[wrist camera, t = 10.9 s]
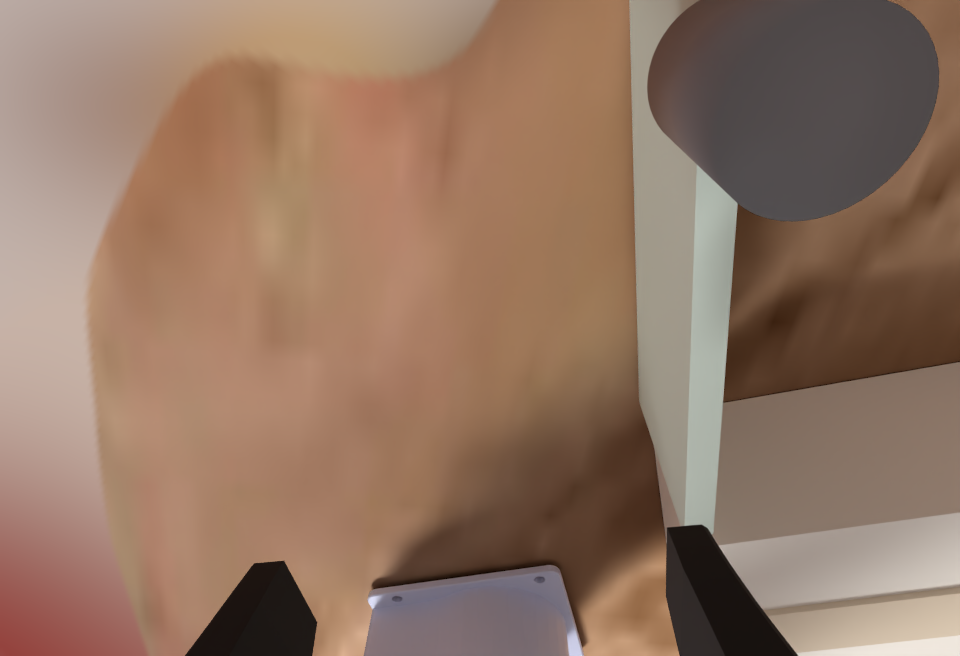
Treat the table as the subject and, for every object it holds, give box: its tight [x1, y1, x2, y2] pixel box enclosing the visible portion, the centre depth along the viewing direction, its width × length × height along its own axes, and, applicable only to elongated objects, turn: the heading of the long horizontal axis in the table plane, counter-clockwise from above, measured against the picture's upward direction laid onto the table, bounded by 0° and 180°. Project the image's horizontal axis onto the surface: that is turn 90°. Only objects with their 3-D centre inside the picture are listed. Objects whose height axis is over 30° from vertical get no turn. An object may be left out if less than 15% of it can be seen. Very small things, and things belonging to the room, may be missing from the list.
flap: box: [629, 0, 939, 534], centre depth 14 cm, size 14×3×10 cm, turn 9°
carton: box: [654, 362, 960, 656], centre depth 21 cm, size 14×10×6 cm
